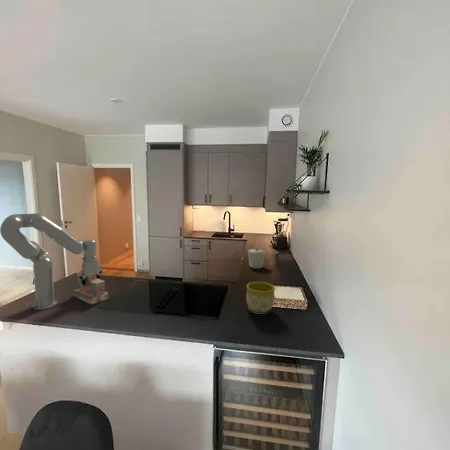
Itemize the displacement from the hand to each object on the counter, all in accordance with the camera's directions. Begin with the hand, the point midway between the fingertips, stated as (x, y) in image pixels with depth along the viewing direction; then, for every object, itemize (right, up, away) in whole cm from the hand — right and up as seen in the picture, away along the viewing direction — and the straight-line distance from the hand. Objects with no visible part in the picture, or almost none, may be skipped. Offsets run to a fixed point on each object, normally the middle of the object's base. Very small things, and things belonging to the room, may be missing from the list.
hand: (90, 282), depth 175 cm
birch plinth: (0, -10, +1) cm, 10 cm away
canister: (+123, -4, +87) cm, 150 cm away
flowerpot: (+114, -16, -9) cm, 115 cm away
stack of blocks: (0, -7, 0) cm, 7 cm away
